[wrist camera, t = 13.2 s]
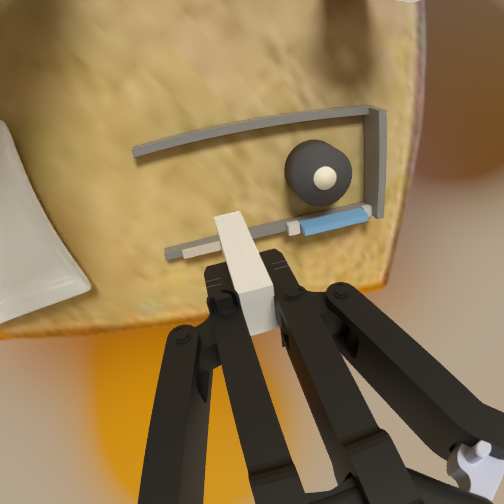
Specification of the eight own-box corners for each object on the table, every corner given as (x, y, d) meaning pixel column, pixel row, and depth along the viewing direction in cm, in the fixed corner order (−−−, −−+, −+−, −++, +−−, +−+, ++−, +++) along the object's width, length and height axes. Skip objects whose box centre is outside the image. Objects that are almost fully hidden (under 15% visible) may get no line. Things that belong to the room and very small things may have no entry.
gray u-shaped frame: (167, 256, 44) (167, 272, 41) (133, 146, 35) (128, 155, 32) (370, 207, 48) (383, 219, 44) (370, 105, 38) (386, 110, 35)
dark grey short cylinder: (287, 199, 44) (297, 213, 40) (281, 144, 39) (293, 152, 36) (338, 189, 45) (353, 201, 41) (337, 136, 40) (353, 144, 36)
